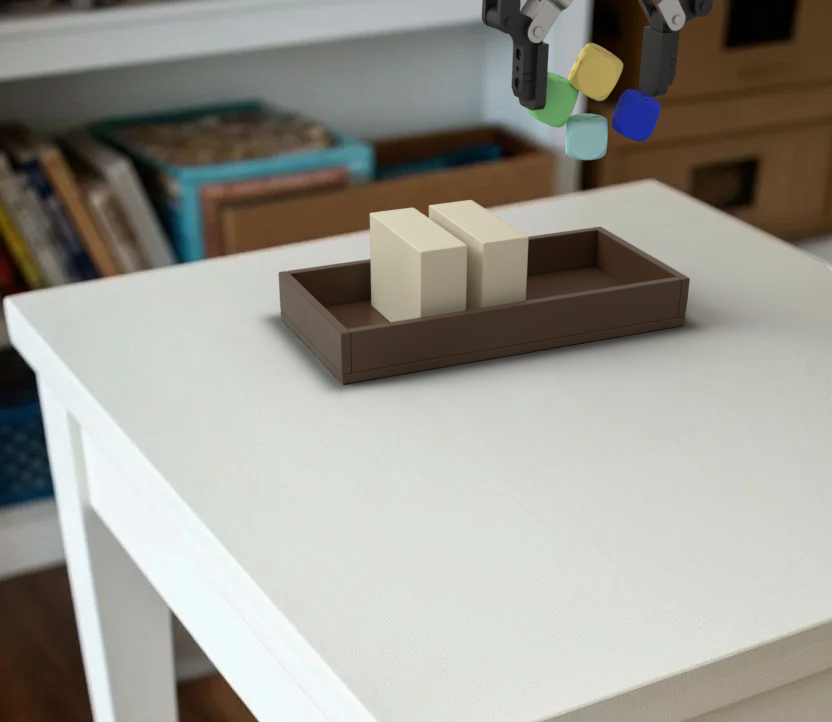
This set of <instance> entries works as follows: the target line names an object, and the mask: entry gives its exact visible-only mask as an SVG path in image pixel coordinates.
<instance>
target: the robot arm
mask: <svg viewBox="0 0 832 722" xmlns="http://www.w3.org/2000/svg"><path fill="white" fill-rule="evenodd" d="M573 1H574V0H482V1H481V2H482V3H481V5H482V6H481V21H482V23H483V24H484V25H485V26H487V27H489V28H493V29H495V30H497V31H500V32H501V33H504V34H507V35H509V36H510V38H511V40H512V62H511V63H512V65H511V69H512V70H511V90H512V93H513V96H514V97H516V98H518V103H519V104H520V105H521V107H524V108H525V109H526V110H527V109H529V110H532V111H533V110H542V109H544V108H545V105H546V91H547V72H549V71H548V70H549V49H550V44H549V43H547V42H545V41H544V40H545V39H546V37H547V35H548V33H549V31H550V30H551V28H552V27H553V26H554V24H555V22H556V21H557V19H558V17H559V16H560V14H561V13H562V12H563V11H565V10H566V9H568V8H569V7H570V6H571V4H572V3H573ZM637 1H638V4H639V5H640V7H641V9H642V12H643V13H644V15H645V17H646V19H647V21H648V22H649V25H648V26H647V25H646V26H643V33H642V46H641V57H640V68H639V79H638V85H639V91H640V92H643V93H645V94H647V95H649V96H651V97H653V98H658V97H665V96H666V95H667V94H668V89H669V86H672V85H673V82H674V80H675V78H676V71H677V61H678V59H677V58H678V51H679V49H678V48H679V41H680V33H681V30H682V28H683V27H684V25H685V24H686V23H688V22H690V21H691V20H693V19H695V18H697V17H701V18H704V17H707V16H708V15H710V13H711V12H712V9H713V5H714V4H713V3H714V0H637Z"/></svg>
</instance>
